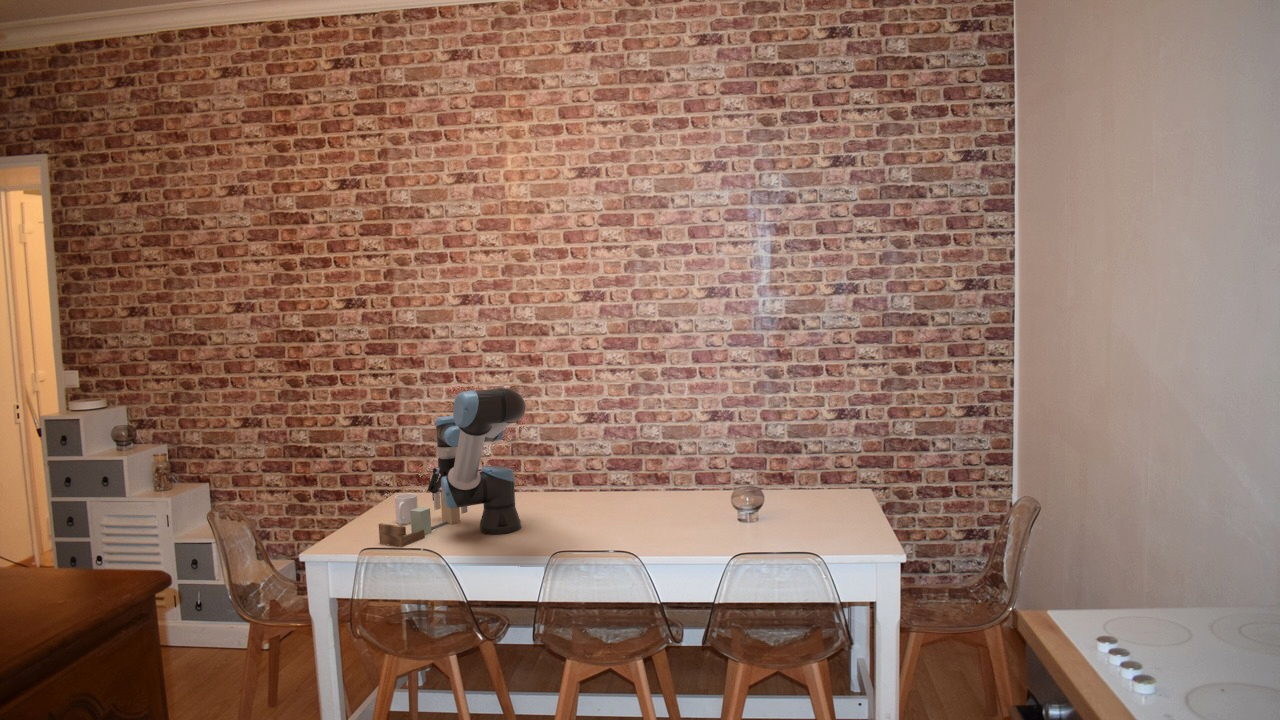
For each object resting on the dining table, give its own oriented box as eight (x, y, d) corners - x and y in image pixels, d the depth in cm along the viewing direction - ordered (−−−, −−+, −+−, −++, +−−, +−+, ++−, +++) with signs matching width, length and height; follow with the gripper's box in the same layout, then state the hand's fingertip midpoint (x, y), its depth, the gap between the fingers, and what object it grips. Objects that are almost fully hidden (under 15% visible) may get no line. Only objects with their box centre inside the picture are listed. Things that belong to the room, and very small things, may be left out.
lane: (424, 537, 299) (423, 518, 299) (401, 546, 289) (400, 527, 289) (403, 534, 304) (402, 515, 304) (379, 543, 294) (378, 524, 294)
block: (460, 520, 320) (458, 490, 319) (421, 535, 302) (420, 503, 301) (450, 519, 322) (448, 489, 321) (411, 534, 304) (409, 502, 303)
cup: (421, 518, 326) (419, 493, 325) (411, 527, 314) (409, 500, 313) (400, 518, 326) (399, 493, 326) (389, 527, 314) (388, 501, 314)
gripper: (479, 457, 314) (482, 511, 316) (430, 452, 327) (433, 505, 328) (466, 461, 308) (469, 516, 310) (416, 456, 320) (419, 510, 322)
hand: (450, 511), depth 319 cm, fingers open, 13 cm apart
